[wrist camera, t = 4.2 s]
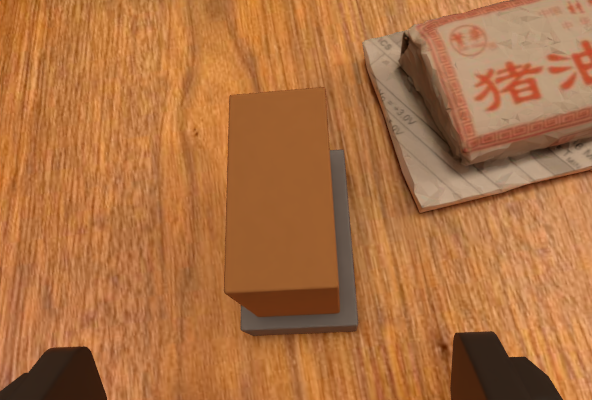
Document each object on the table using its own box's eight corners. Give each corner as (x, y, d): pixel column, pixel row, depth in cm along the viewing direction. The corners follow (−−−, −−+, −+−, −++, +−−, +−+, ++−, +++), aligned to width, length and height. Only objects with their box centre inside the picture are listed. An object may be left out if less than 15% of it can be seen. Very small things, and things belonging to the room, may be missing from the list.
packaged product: (733, -102, 21) (889, 62, 17) (663, -18, 25) (775, 128, 22) (362, -8, 21) (435, 177, 17) (358, 60, 25) (416, 219, 22)
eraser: (356, 331, 20) (365, 304, 13) (251, 335, 20) (198, 312, 13) (343, 170, 23) (344, 72, 16) (252, 177, 23) (209, 84, 16)
